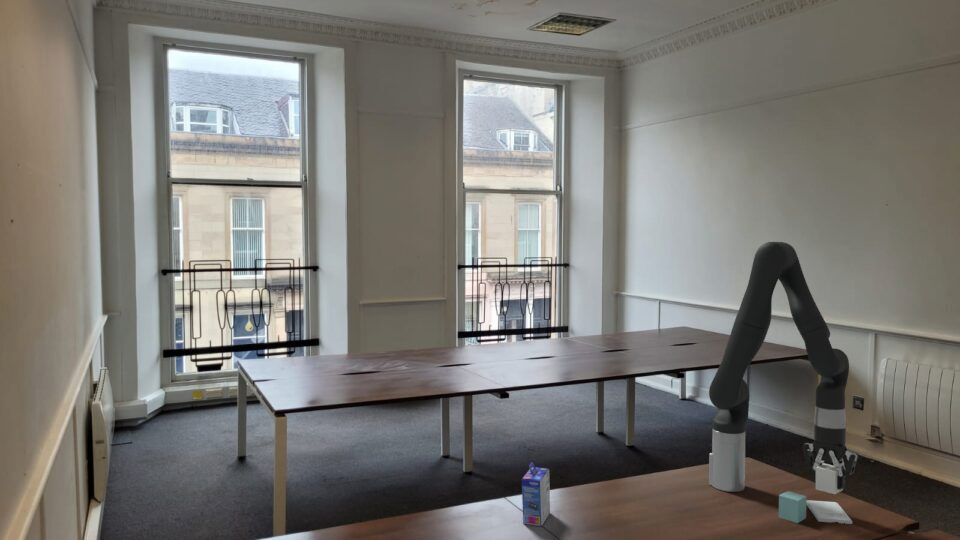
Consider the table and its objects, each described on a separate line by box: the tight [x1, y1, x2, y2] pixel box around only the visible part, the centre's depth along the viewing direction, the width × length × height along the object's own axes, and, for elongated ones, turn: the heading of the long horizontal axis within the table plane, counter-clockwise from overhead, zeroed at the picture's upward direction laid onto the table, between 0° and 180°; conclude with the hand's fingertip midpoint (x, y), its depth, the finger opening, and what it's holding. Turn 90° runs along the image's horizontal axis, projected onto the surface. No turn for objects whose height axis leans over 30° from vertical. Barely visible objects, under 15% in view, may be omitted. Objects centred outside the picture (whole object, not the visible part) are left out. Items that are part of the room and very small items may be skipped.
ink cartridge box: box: [521, 461, 551, 527], centre depth 180 cm, size 10×6×14 cm, turn 161°
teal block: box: [778, 490, 807, 524], centre depth 180 cm, size 5×5×6 cm
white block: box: [815, 463, 844, 495], centre depth 182 cm, size 5×5×6 cm
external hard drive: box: [806, 499, 853, 525], centre depth 183 cm, size 2×8×12 cm
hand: (829, 485), depth 182 cm, fingers closed on white block, 5 cm apart
